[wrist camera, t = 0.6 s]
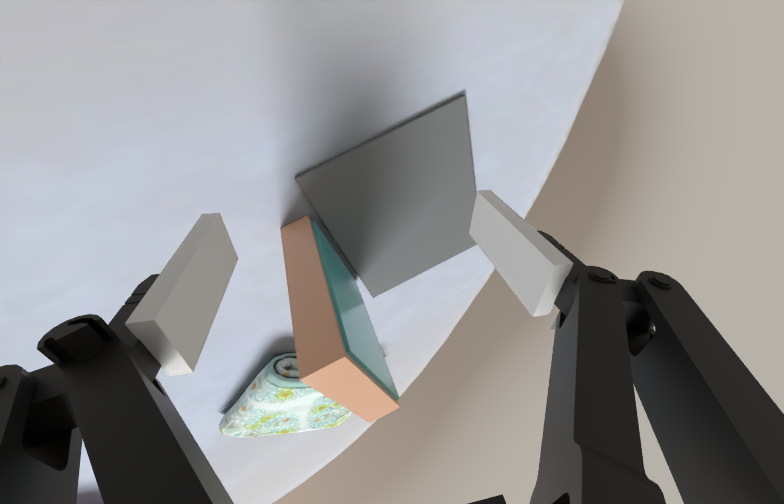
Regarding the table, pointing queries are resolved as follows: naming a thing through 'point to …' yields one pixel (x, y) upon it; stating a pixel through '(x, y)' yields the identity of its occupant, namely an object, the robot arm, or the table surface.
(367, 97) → the table surface
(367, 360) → the terracotta slab
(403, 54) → the table surface
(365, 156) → the charcoal mat
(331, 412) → the towel
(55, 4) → the table surface
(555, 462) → the robot arm
